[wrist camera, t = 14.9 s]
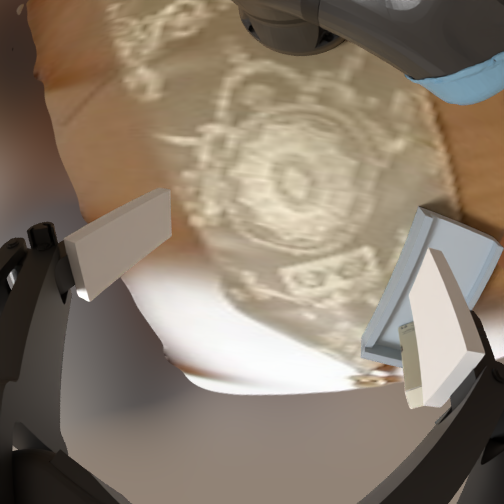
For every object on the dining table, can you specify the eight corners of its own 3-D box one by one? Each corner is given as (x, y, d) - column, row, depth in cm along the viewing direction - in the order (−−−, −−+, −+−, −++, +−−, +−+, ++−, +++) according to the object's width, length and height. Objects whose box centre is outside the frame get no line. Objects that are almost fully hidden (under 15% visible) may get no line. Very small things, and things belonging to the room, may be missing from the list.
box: (396, 326, 40) (403, 390, 29) (422, 317, 37) (436, 380, 27) (404, 348, 41) (409, 411, 30) (428, 340, 39) (439, 402, 28)
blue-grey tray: (418, 206, 34) (427, 218, 30) (493, 236, 31) (506, 251, 27) (361, 337, 45) (360, 357, 41) (427, 354, 43) (431, 373, 38)
